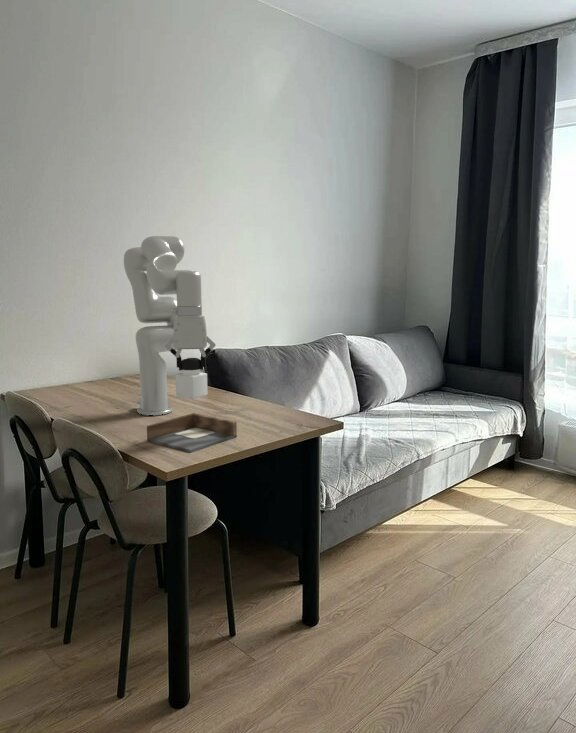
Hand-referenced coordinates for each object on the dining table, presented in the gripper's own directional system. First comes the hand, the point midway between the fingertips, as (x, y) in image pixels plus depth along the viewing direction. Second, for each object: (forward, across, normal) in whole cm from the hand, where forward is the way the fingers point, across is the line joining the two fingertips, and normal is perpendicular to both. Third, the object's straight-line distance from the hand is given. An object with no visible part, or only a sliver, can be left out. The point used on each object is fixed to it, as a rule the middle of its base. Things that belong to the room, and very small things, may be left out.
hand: (191, 369), depth 196 cm
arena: (+22, 0, -4) cm, 22 cm away
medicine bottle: (+9, 0, 0) cm, 9 cm away
